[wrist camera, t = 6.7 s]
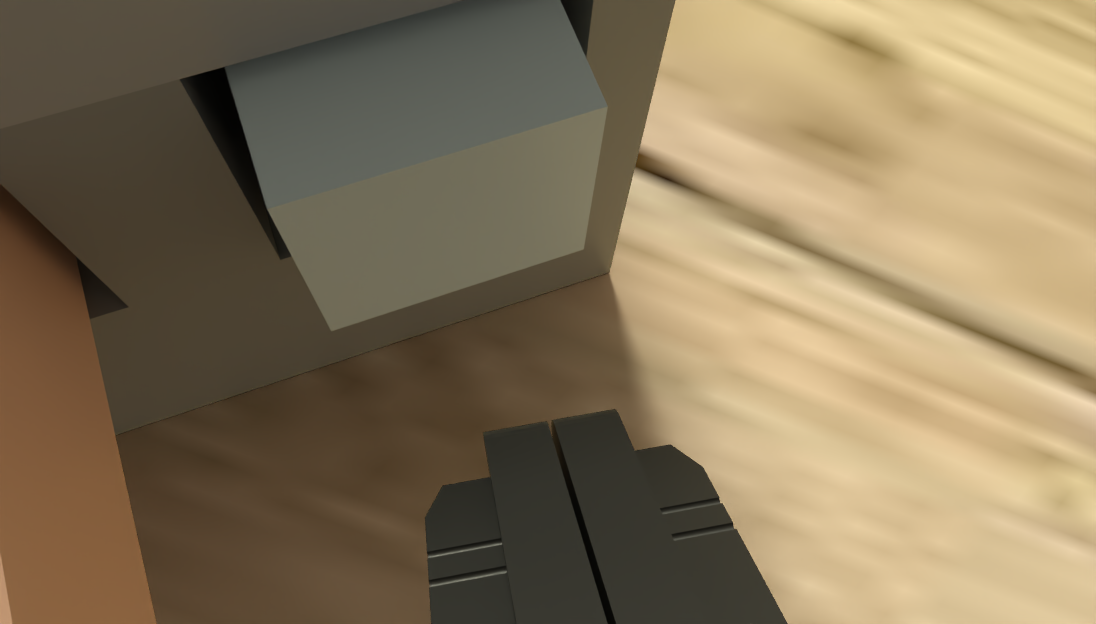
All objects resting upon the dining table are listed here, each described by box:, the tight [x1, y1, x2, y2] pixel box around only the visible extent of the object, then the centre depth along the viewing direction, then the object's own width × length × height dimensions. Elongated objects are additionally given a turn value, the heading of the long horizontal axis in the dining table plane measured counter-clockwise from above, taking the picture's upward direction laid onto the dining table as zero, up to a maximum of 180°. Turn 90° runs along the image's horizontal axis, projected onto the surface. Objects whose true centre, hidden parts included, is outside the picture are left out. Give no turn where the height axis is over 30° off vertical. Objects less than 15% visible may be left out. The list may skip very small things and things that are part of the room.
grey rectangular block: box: [225, 0, 608, 331], centre depth 15 cm, size 4×8×4 cm, turn 20°
